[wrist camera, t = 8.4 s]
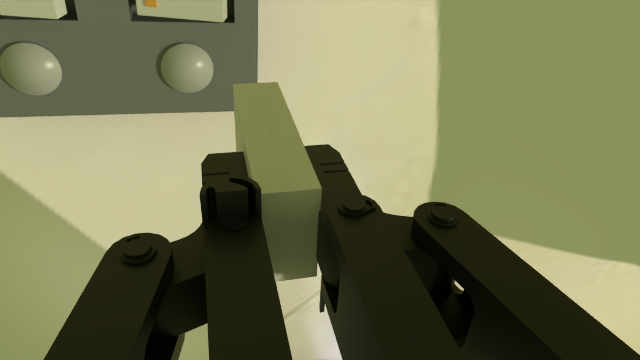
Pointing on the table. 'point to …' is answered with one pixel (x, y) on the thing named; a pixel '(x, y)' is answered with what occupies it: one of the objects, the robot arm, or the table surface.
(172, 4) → the rocker
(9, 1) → the pale rectangular block
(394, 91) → the table surface
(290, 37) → the table surface
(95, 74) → the switch panel
